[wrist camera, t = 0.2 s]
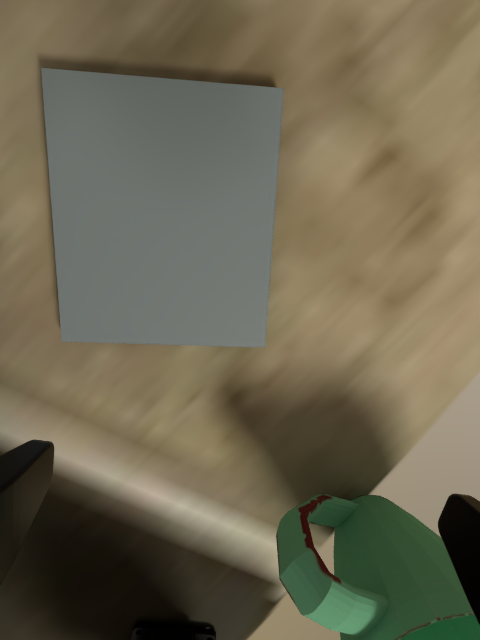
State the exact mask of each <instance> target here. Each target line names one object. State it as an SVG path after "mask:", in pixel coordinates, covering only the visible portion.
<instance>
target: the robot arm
mask: <svg viewBox="0 0 480 640" xmlns="http://www.w3.org/2000/svg"><path fill="white" fill-rule="evenodd" d="M53 462H54V445H53V443H52V442H49V441H42V440H31V441H28V442H26V443H24V444H22V445H20V446H18V447H16V448H14V449H12V450H10V451H8V452H6V453H4V454H2V455H0V585H1V583H2V581H3V579H4V578H5V576H6V574H7V572H8V571H9V569H10V567H11V565H12V564H13V562H14V560H15V558H16V556H17V554H18V552H19V550H20V547H21V545H22V543H23V541H24V539H25V537H26V535H27V533H28V531H29V529H30V526H31V524H32V522H33V520H34V518H35V516H36V514H37V512H38V510H39V508H40V505H41V503H42V501H43V499H44V497H45V495H46V493H47V491H48V489H49V486H50V484H51V481H52V476H53ZM438 528H439V533H440V535H441V538H442V540H443V542H444V545H445V547H446V550H447V552H448V554H449V557H450V559H451V562H452V564H453V566H454V569H455V571H456V574H457V576H458V578H459V581H460V583H461V586H462V588H463V590H464V593H465V595H466V597H467V600H468V602H469V604H470V606H471V609H472V611H473V613H474V615H475V617H476V619H477V621H478V623H479V625H480V501H478V500H477V499H475V498H473V497H472V496H469V495H462V494H452V495H450V496H449V498H448V500H447V502H446V504H445V506H444V509H443V511H442V513H441V516H440V518H439V521H438ZM131 640H216V632H215V631H214V630H212V629H204V628H194V627H185V626H176V625H166V624H157V623H147V622H137V623H136V624H135V625H134V627H133V632H132V637H131Z"/></svg>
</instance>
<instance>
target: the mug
mask: <svg viewBox="0 0 480 640" xmlns="http://www.w3.org/2000/svg"><path fill="white" fill-rule="evenodd" d="M309 523H313V524H319V525H325V526H331V527H335V536H334V575H333V574H331V573H330V572H329V571H328V569H327V567H326V566H325V564H324V562H323V561H322V559H321V558H320V556H319V554H318V552H317V551H316V549H315V548H314V545H313V541H312V537H311V532H310V528H309ZM276 537H277V551H278V564H279V577H280V581H281V582H282V584H283V586H284V587H285V589H286V590H287V592H288V594H289V595H290V597H291V598H292V600H293V602H294V603H295V605H296V606H297V608H298V610H299V611H300V613H301V614H302V615H303V616H305V617H307V618H309V619H311V620H313V621H315V622H317V623H319V624H320V625H322V626H324V627H326V628H328V629H330V630H334V631H338V632H340V637H341V640H480V625H479V623H478V621H477V619H476V617H475V615H474V613H473V611H472V609H471V606H470V604H469V602H468V600H467V597H466V595H465V593H464V590H463V588H462V586H461V583H460V581H459V578H458V576H457V574H456V571H455V569H454V566H453V564H452V562H451V559H450V557H449V554H448V552H447V550H446V547H445V545H444V542H443V540H442V538H441V537H439V536H438V535H437V534H436V533H434V532H433V531H432V530H431V529H429V528H428V527H426V526H425V525H424V524H423V523H421V522H420V521H419V520H418V519H416V518H415V517H414V516H412V515H411V514H409V513H408V512H406V511H405V510H403V509H402V508H400V507H399V506H397V505H395V504H394V503H393V502H391V501H389V500H388V499H386V498H384V497H381V496H376V495H366V496H360V497H358V498H356V499H353V500H351V501H349V500H345V499H341V498H338V497H334V496H330V495H326V494H321V493H320V494H317V495H315V496H314V497H312V498H310V499H309V500H307V501H305V502H304V503H302V504H300V505H298V506H297V507H295V508H293V509H292V510H290V511H289V512H288V513H287V514H286V515H285V516H284V517H283V518H282V519H281V521H280V524H279V527H278V530H277V535H276Z"/></svg>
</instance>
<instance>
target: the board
mask: <svg viewBox="0 0 480 640" xmlns="http://www.w3.org/2000/svg"><path fill="white" fill-rule="evenodd" d="M41 74H42V87H43V100H44V114H45V127H46V140H47V153H48V167H49V180H50V193H51V207H52V220H53V233H54V246H55V260H56V273H57V286H58V300H59V313H60V326H61V339H62V341H64V342H97V343H130V344H163V345H196V346H230V347H263V348H265V339H266V326H267V312H268V298H269V284H270V270H271V256H272V243H273V229H274V215H275V201H276V187H277V173H278V160H279V146H280V132H281V118H282V104H283V91H284V88H275V87H263V86H251V85H239V84H227V83H215V82H204V81H192V80H180V79H168V78H156V77H144V76H132V75H120V74H108V73H97V72H85V71H73V70H61V69H49V68H41Z"/></svg>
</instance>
